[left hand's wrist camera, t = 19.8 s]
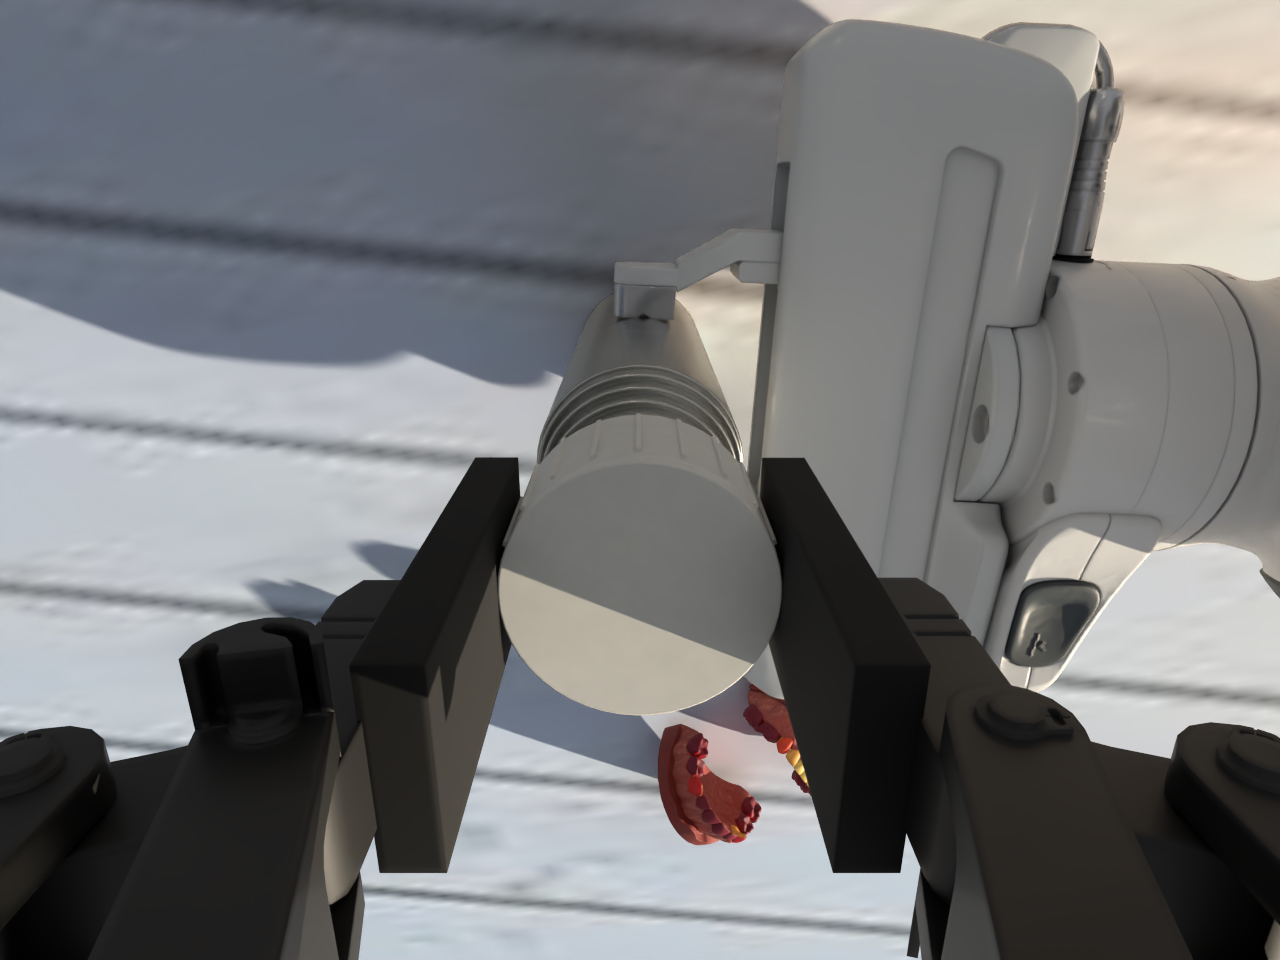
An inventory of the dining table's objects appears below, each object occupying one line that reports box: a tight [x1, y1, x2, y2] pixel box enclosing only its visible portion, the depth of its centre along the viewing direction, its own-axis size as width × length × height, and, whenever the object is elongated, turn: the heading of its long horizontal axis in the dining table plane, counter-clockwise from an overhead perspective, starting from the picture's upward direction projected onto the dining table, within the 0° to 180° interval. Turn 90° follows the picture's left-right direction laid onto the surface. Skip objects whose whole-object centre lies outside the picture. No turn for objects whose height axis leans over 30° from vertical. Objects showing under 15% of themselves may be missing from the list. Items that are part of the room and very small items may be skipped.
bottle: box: [537, 294, 743, 465], centre depth 22 cm, size 5×5×19 cm
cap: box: [498, 413, 782, 715], centre depth 13 cm, size 4×4×3 cm
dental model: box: [658, 684, 811, 845], centre depth 35 cm, size 6×4×8 cm
